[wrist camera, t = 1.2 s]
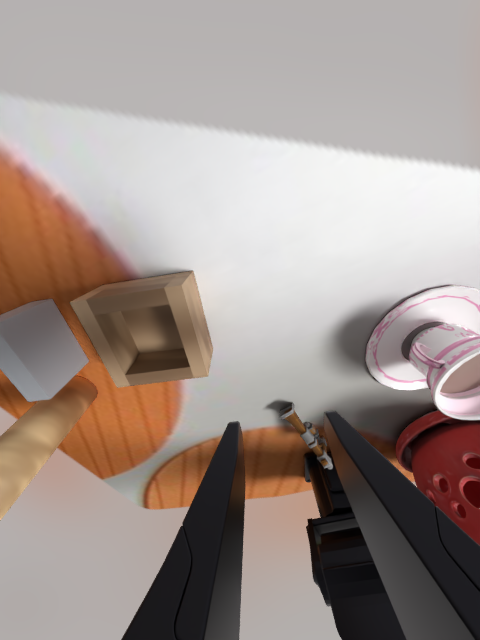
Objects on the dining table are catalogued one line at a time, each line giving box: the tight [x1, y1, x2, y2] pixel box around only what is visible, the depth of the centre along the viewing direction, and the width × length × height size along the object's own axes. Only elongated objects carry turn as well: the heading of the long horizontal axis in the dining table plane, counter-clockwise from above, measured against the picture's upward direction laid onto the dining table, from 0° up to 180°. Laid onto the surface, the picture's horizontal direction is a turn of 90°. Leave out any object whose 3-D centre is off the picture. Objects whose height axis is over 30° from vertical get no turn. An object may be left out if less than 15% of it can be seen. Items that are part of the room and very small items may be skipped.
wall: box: [0, 299, 89, 402], centre depth 18 cm, size 7×2×5 cm, turn 9°
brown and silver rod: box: [279, 403, 333, 469], centre depth 25 cm, size 2×8×4 cm, turn 43°
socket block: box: [70, 271, 213, 388], centre depth 18 cm, size 8×8×4 cm
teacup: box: [365, 285, 480, 420], centre depth 18 cm, size 12×12×6 cm
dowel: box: [0, 376, 98, 520], centre depth 18 cm, size 4×4×13 cm
